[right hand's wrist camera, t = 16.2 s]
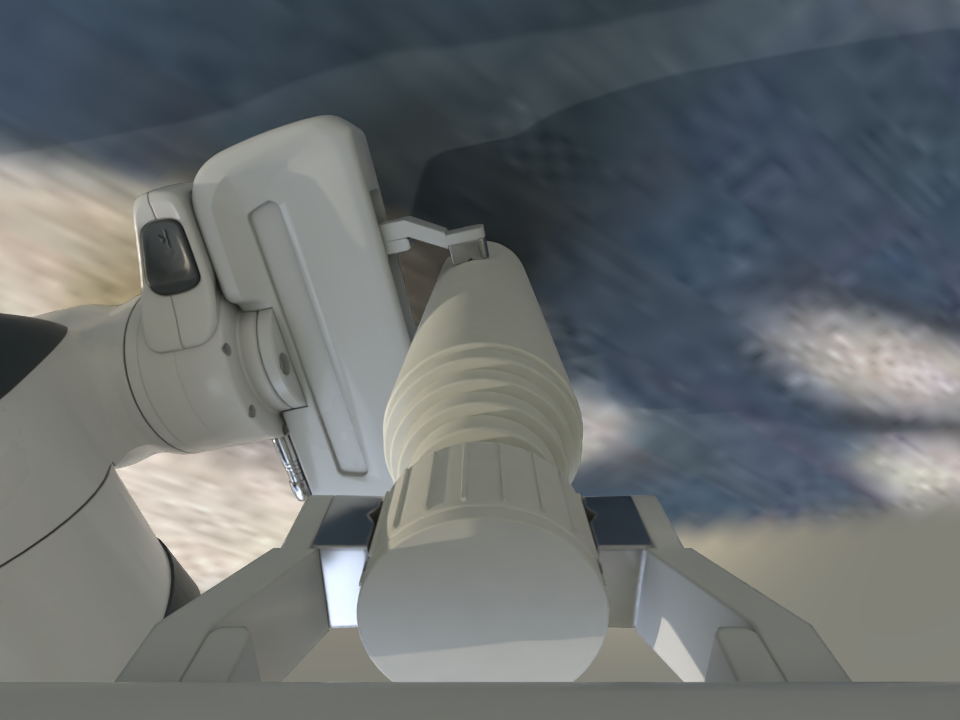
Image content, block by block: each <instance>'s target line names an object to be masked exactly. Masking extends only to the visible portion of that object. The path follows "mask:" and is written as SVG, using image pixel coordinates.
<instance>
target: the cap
mask: <svg viewBox="0 0 960 720" xmlns="http://www.w3.org/2000/svg"><path fill="white" fill-rule="evenodd" d="M368 557H369V560H368V563H367V567H366V570H365V571H362V574H361V577H360V581H359V586H360V587H361V588H360V592H359V595H358V601H357V625H358V630H359V635H360V637H361V640H362V643H363V646H364V648H365V649H366V651H367V653H368V655H369V657H370V658H371V659H372V661H373V662H374V663H375V665H376V666H377V667H378V668H379V669H380V670H381V671H382V672H383V673H384V674H385V675H386V677H388V678H389V679H390V680H391V681H393V682H573V681H574V680H576V679H577V678H578V677H579V676H580V675H581V674H582V673H583V672H584V671H585V670H586V669H587V668H588V667H589V665H590V664H591V663H592V662H593V660H594V659H595V657H596V656H597V654H598V652H599V651H600V649H601V647H602V644H603V642H604V639H605V637H606V633H607V628H608V624H609V603H608V596H607V593H606V590H605V589H607V584H606V581H605V577H604V574H603V573H602V574H601V572H600V569H599V566H598V562H597V559H599V556H598V553H597V550H596V546H595V543H594V540H593V536H592V533H591V530H590V526H589V523H588V520H587V516H586V513H585V510H584V506H583V503H582V499H581V496H580V494H579V493H577V494H576V492H575V490H574V488H573V487H572V486H571V484H570V483H569V481H568V480H567V479H566V477H565V476H564V474H563V471H562V470H558V469H557V468H555V467H554V466H553V465H552V464H551V463H549V462H548V461H546V460H545V459H543V458H541V457H540V456H538V455H537V454H536V453H535V452H530V451H528V450H525V449H523V448H520V447H516V446H513V445H509V444H505V443H501V442H485V441H482V442H464V443H461V444H456V445H452V446H449V447H445V448H442V449H440V450H437V451H432V452H431V453H430V454H429V455H427V456H425V457H423V458H422V459H420V460H418V461H417V462H416V463H414V464H413V465H412V466H411V467H409V468H406V469H404V472H403V474H402V475H401V476H400V477H399V478H398V480H397V481H396V482H395V484H394V485H393V487H392V488H391V490H390V492H389V491H387V492H386V494H385V497H384V501H383V504H382V508H381V511H380V515H379V518H378V522H377V525H376V529H375V532H374V536H373V539H372V543H371V546H370V550H369V553H368Z"/></svg>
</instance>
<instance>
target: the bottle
mask: <svg viewBox="0 0 960 720" xmlns="http://www.w3.org/2000/svg"><path fill="white" fill-rule="evenodd" d="M487 246H488V251H489V257H487V258H485V259H481V260H473V259H470V260H469V261H468V262H465V263H462V264H458V265H453V263H452V259H451V255H450V256H449V257H448V258H447V259H446V261H445V263H444V264H443V266H442V269H441V271H440V273H439V276H438V278H437V281H436V283H435V286H434V288H433V291H432V293H431V296H430V298H429V301H428V303H427V306H426V308H425V311H424V313H423V316H422V318H421V321H420V323H419V326H418V328H417V331H416V333H415V336H414V338H413V341H412V343H411V346H410V348H409V351H408V353H407V356H406V358H405V361H404V363H403V366H402V368H401V371H400V373H399V376H398V378H397V381H396V383H395V386H394V388H393V391H392V393H391V396H390V398H389V401H388V404H387V407H386V410H385V414H384V421H383V440H384V455H385V461H386V464H387V468H388V471H389V473H390V475H391V478H392V480H393V482H394V484H395V482H396V481H397V480H398V478H399V477H400V476H401V475H402V474H403V472H404V469H406V468H409V467H411V466H412V465H413V464H414V463H416V462H417V461H418V460H420V459H422V458H423V457H425V456H427V455H429V454H430V453H431V452H432V451H437V450H440V449H442V448H445V447H449V446H452V445H456V444H461V443H464V442H482V441H485V442H501V443H505V444H509V445H513V446H516V447H520V448H523V449H525V450H528V451H530V452H535V453H536V454H537V455H538V456H540V457H541V458H543V459H545V460H546V461H548V462H549V463H551V464H552V465H553V466H554V467H555V468H557V469H558V470H562V471H563V474H564V476H565V477H566V479H567V480H568V481H569V483H570V484H571V483H572V482H573V479H574V477H575V475H576V473H577V470H578V467H579V464H580V460H581V453H582V438H583V423H582V417H581V411H580V408H579V405H578V402H577V399H576V397H575V394H574V392H573V389H572V387H571V384H570V382H569V379H568V377H567V374H566V372H565V369H564V367H563V364H562V362H561V359H560V357H559V354H558V352H557V349H556V347H555V344H554V342H553V339H552V337H551V334H550V332H549V329H548V327H547V324H546V322H545V319H544V317H543V314H542V312H541V309H540V307H539V304H538V302H537V299H536V297H535V294H534V292H533V289H532V287H531V284H530V282H529V279H528V277H527V274H526V272H525V269H524V267H523V265H522V263H521V261H520V260H519V258H518V257H517V256H516V255H515V254H514V253H513V252H512V251H511V250H510V249H508V248H506V247H505V246H503V245H501V244H498V243H495V242H491V241H487Z"/></svg>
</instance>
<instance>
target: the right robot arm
mask: <svg viewBox="0 0 960 720" xmlns="http://www.w3.org/2000/svg"><path fill="white" fill-rule="evenodd" d="M581 499H582V503H583V506H584V510H585V513H586V516H587V520H588V523H589V526H590V530H591V533H592V536H593V540H594V543H595V546H596V550H597V553H598V556H599V559H597V562H598V566H599V569H600V572H601V574H602V573H603V574H604V577H605V581H606V584H607V589H605V590H606V593H607V596H608V603H609V624H608V627H620V628H635V630H636V631H637V633H638V634H639V635H640V636H641V637H642V638H643V639H644V640H645V641H646V642H647V643H648V644H649V645H650V646H651V647H652V648H653V650H654V651H655V652H656V653H657V654H658V655H659V656H660V657H661V658H662V659H663V660H664V661H665V662H666V663H667V664H668V665H669V667H670V668H671V669H672V670H673V671H674V672H675V673H676V674H677V675H678V676H679V677H680V678H681V679H682V680H683V681H684V682H282V680H283V679H284V678H285V677H286V676H287V675H288V674H289V673H290V672H291V671H292V670H293V669H294V668H295V667H296V666H297V664H298V663H299V662H300V661H301V660H302V659H303V658H304V657H305V656H306V655H307V654H308V653H309V652H310V651H311V649H312V648H313V647H314V646H315V645H316V644H317V643H318V642H319V641H320V640H321V639H322V638H323V637H324V636H325V635H326V633H327V632H328V631H329V628H343V627H358V625H357V601H358V595H359V592H360V588H361V587H360V586H359V581H360V577H361V574H362V571H365V570H366V567H367V563H368V560H369V557H368V553H369V550H370V546H371V543H372V539H373V536H374V532H375V529H376V525H377V522H378V518H379V515H380V511H381V508H382V504H383V501H384V496H353V495H336V496H334V495H311V496H309V497H308V498H307V499H306V501H305V503H304V505H303V506H302V508H301V510H300V512H299V514H298V516H297V518H296V520H295V522H294V524H293V526H292V528H291V529H290V531H289V533H288V535H287V537H286V539H285V541H284V543H283V545H282V547H281V548H273V549H271V550H270V551H268V552H267V553H265V554H264V555H262V556H261V557H259V558H257V559H256V560H254V561H253V562H251V563H250V564H248V565H247V566H245V567H243V568H242V569H240V570H239V571H237V572H236V573H234V574H233V575H231V576H229V577H228V578H226V579H225V580H223V581H222V582H220V583H219V584H217V585H215V586H214V587H212V588H211V589H209V590H208V591H206V592H205V593H203V594H201V595H200V596H198V597H197V598H195V599H194V600H192V601H191V602H189V603H188V604H186V605H184V606H183V607H181V608H180V609H178V610H177V611H175V612H174V613H172V614H170V615H169V616H167V617H166V618H164V619H163V620H161V621H160V622H158V623H156V624H155V625H154V627H153V628H152V629H151V631H150V632H149V634H148V635H147V636H146V638H145V639H144V641H143V642H142V643H141V645H140V646H139V648H138V649H137V651H136V652H135V653H134V655H133V656H132V658H131V659H130V660H129V662H128V663H127V665H126V666H125V667H124V669H123V670H122V672H121V673H120V675H119V676H118V677H117V679H116V680H115V682H0V720H960V682H852V681H851V679H850V678H849V676H848V675H847V674H846V672H845V671H844V669H843V668H842V667H841V665H840V664H839V663H838V661H837V660H836V658H835V657H834V655H833V654H832V653H831V651H830V650H829V649H828V647H827V646H826V644H825V643H824V642H823V640H822V639H821V637H820V636H819V635H818V633H817V632H816V630H815V629H814V628H813V626H812V625H811V624H809V623H807V622H806V621H804V620H803V619H801V618H800V617H798V616H797V615H795V614H793V613H792V612H790V611H789V610H787V609H786V608H784V607H783V606H781V605H779V604H778V603H776V602H775V601H773V600H772V599H770V598H768V597H767V596H765V595H764V594H762V593H761V592H759V591H757V590H756V589H754V588H753V587H751V586H750V585H748V584H747V583H745V582H743V581H742V580H740V579H739V578H737V577H736V576H734V575H733V574H731V573H729V572H728V571H726V570H725V569H723V568H722V567H720V566H718V565H717V564H715V563H714V562H712V561H711V560H709V559H708V558H706V557H704V556H703V555H701V554H700V553H698V552H697V551H695V550H693V549H692V548H684V547H683V545H682V543H681V542H680V540H679V538H678V536H677V534H676V532H675V530H674V529H673V527H672V525H671V523H670V521H669V519H668V518H667V516H666V514H665V512H664V510H663V508H662V506H661V505H660V503H659V501H658V499H657V497H655V496H654V495H629V496H599V497H581Z"/></svg>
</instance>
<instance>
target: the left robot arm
mask: <svg viewBox="0 0 960 720" xmlns="http://www.w3.org/2000/svg"><path fill="white" fill-rule="evenodd" d="M133 221H134V230H135V237H136V245H137V253H138V261H139V271H140V282H141V294H140V295H138V296H136V297H134V298H133V299H131V300H129V301H128V302H126V303H124V304H121V305H116V306H108V305H81V306H76V307H71V308H66V309H62V310H58V311H53V312H50V313H46V314H42V315H38V316H34V317H26V316H19V315H10V314H2V313H0V682H115V680H116V679H117V677H118V676H119V675H120V673H121V672H122V670H123V669H124V667H125V666H126V665H127V663H128V662H129V660H130V659H131V658H132V656H133V655H134V653H135V652H136V651H137V649H138V648H139V646H140V645H141V643H142V642H143V641H144V639H145V638H146V636H147V635H148V634H149V632H150V631H151V629H152V628H153V627H154V625H155V624H156V623H158V622H160V621H161V620H163V619H164V618H166V617H167V616H169V615H170V614H172V613H174V612H175V611H177V610H178V609H180V608H181V607H183V606H184V605H186V604H188V603H189V602H191V601H192V600H194V599H195V598H197V597H198V596H200V595H201V594H200V591H199V589H198V587H197V585H196V584H195V582H194V581H193V580H192V579H191V577H190V576H189V575H188V574H187V572H186V571H185V570H184V569H183V567H182V566H181V565H180V564H179V562H178V561H177V560H176V558H175V557H174V556H173V555H172V553H171V552H170V551H169V549H168V548H167V547H166V546H165V545H164V543H163V542H162V541H161V540H160V539H158V538H157V537H156V536H155V534H154V533H153V531H152V529H151V528H150V526H149V524H148V523H147V521H146V519H145V518H144V516H143V515H142V513H141V511H140V510H139V508H138V506H137V505H136V503H135V502H134V500H133V498H132V497H131V495H130V493H129V492H128V490H127V488H126V487H125V485H124V484H123V482H122V480H121V479H120V477H119V475H118V474H117V472H116V470H115V469H118V468H122V467H126V466H129V465H133V464H135V463H137V462H140V461H142V460H144V459H146V458H148V457H149V456H151V455H154V454H157V453H163V452H165V453H175V454H195V453H201V452H206V451H211V450H217V449H222V448H227V447H232V446H237V445H243V444H247V443H252V442H258V441H263V440H268V439H272V442H273V444H274V447H275V449H276V452H277V454H278V457H279V459H280V461H281V463H282V464H283V466H284V468H285V470H286V472H287V474H288V476H289V479H290V481H289V482H290V486H291V489H292V491H293V493H294V495H295V497H296V498H297V499H298V500H299V501H306V499H307V498H308V497H309V496H311V495H334V496H336V495H353V496H384V497H385V494H386V492H387V491H389V492H390V490H391V488H392V487H393V485H394V482H393V480H392V478H391V475H390V473H389V471H388V468H387V464H386V461H385V455H384V440H383V421H384V414H385V410H386V407H387V404H388V401H389V398H390V396H391V393H392V391H393V388H394V386H395V383H396V381H397V378H398V376H399V373H400V371H401V368H402V366H403V363H404V361H405V358H406V356H407V353H408V351H409V348H410V346H411V343H412V341H413V338H414V336H415V333H416V331H417V327H416V323H415V320H414V316H413V312H412V308H411V305H410V301H409V297H408V293H407V290H406V286H405V282H404V278H403V275H402V271H401V267H400V263H399V260H398V256H397V253H398V252H403V251H407V250H409V249H410V248H411V247H412V245H413V244H414V243H415V239H417V240H420V241H423V242H427V243H430V244H433V245H436V246H440V247H443V248H446V249H448V248H449V251H450V255H451V259H452V263H453V265H458V264H462V263H465V262H468V261H469V260H470V259H473V260H481V259H485V258H487V257H489V251H488V246H487V241H486V235H485V231H484V226H483V224H476V225H472V226H467V227H463V228H458V229H453V230H449V231H448V230H447V228H445V227H442V226H439V225H436V224H433V223H430V222H427V221H424V220H421V219H418V218H415V217H412V216H406V217H401V218H397V219H392V220H388V218H387V215H386V211H385V207H384V204H383V200H382V196H381V192H380V189H379V185H378V181H377V177H376V174H375V170H374V166H373V162H372V159H371V155H370V151H369V147H368V144H367V140H366V136H365V134H364V133H363V131H362V130H361V129H359V128H358V127H356V126H355V125H353V124H352V123H350V122H349V121H347V120H345V119H343V118H340V117H338V116H333V115H321V116H316V117H312V118H308V119H303V120H300V121H297V122H293V123H290V124H287V125H284V126H281V127H278V128H275V129H272V130H269V131H267V132H264V133H262V134H259V135H256V136H254V137H251V138H249V139H247V140H244V141H242V142H240V143H238V144H235V145H233V146H231V147H229V148H227V149H225V150H223V151H221V152H219V153H218V154H216V155H214V156H213V157H212V158H210V159H209V160H208V161H207V162H206V163H205V164H204V165H203V166H202V167H201V168H200V170H199V171H198V173H197V175H196V177H195V179H194V182H187V183H179V184H174V185H169V186H165V187H161V188H158V189H155V190H152V191H149V192H147V193H144V194H142V195H140V196H139V197H138V198H137V199H136V200H135V202H134V206H133Z"/></svg>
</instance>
